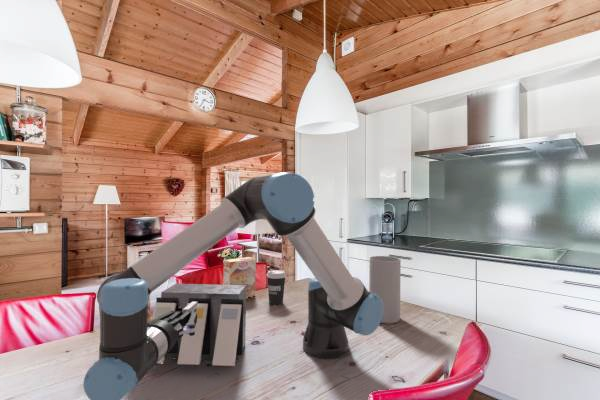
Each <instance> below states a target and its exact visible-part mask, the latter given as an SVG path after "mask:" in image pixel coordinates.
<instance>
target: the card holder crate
mask: <svg viewBox="0 0 600 400" xmlns="http://www.w3.org/2000/svg"><path fill="white" fill-rule="evenodd" d="M160 294H161V295H160V297H157V296H156V299H155V300H156V301H155V303H176V308H175V312H177V311H178V307H182V309H183V308H185V307H186V306H187V303H191V302H197V303H201V304H208V309H207V316H206V324H205V331H204V338H203V346H202V353H201V360H206V361H207V360H210V361H213V356H214V349H215V343H216V336H217V329H218V322H219V316H220V309H221V304H236V305H242V307H241V316H240V324H239V333H238V342H237V350H236V359H235V362H236V361H237V362H238V361H239V360H240V358H241V356H242V357H243V356H244V355H243V354H244V348H245V347H246V331H247V330H246V326H247V325H246V324H247V323H246V322H247V321H246V320H247V317H246V316H247V314H246V313H247V311H246V310H247V303H246V302H247V299H246V285H223V284H210V283H209V284H206V283H205V284H204V283H199V284H198V283H175V284H173V285H171V286H170V287H167V288H166V289H164V290H163V291H161V293H160ZM181 339H182V337H181V338H179V339H177V341H176V343H175V345H174V346H173V348H172V349H171V350H170V351H169V352H168V353H167V354H166V355H165V359H172V360H173V359H175V360H176V359H177V360H178V357H179V351H180V345H181Z"/></svg>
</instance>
